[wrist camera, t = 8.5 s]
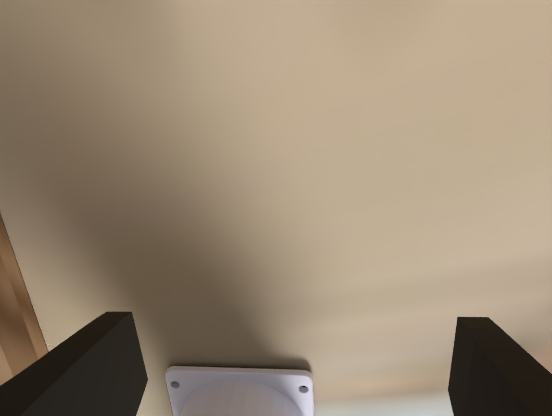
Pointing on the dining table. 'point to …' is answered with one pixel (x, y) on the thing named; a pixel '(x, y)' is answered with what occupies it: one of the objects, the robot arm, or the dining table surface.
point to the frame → (16, 317)
